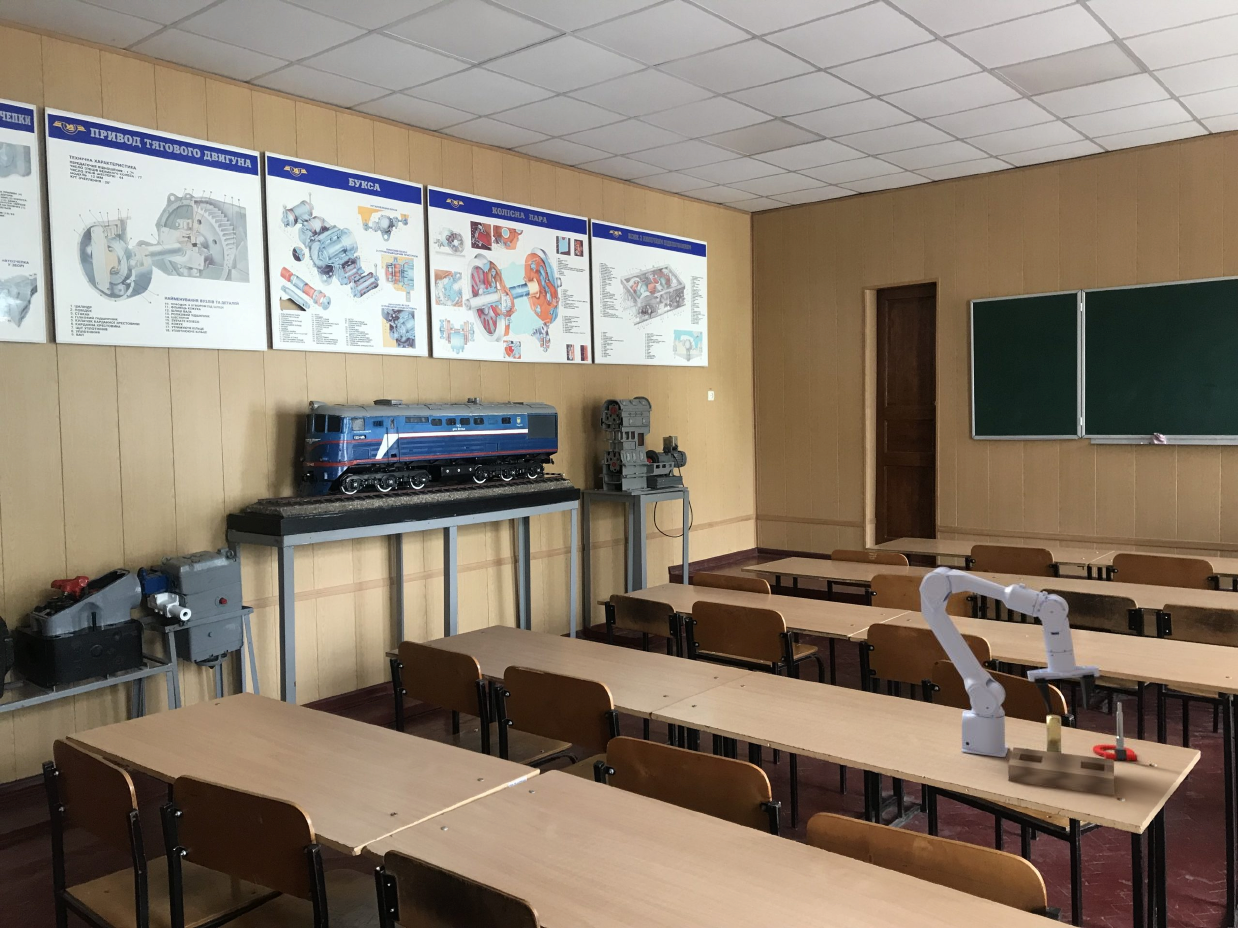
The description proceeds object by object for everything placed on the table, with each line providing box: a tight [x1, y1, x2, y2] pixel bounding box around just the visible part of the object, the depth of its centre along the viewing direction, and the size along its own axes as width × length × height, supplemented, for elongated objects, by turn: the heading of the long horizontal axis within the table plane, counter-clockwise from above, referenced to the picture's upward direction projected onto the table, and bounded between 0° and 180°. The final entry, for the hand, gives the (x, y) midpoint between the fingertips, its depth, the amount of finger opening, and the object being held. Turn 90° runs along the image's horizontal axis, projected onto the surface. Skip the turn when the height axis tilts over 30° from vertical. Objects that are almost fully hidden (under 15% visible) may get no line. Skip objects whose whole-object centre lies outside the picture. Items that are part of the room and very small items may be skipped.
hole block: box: [1007, 746, 1115, 796], centre depth 201 cm, size 20×12×4 cm, turn 62°
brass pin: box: [1045, 714, 1062, 753], centre depth 211 cm, size 3×3×10 cm
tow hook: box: [1092, 702, 1138, 761], centre depth 215 cm, size 8×13×9 cm
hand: (1068, 710), depth 210 cm, fingers open, 7 cm apart
